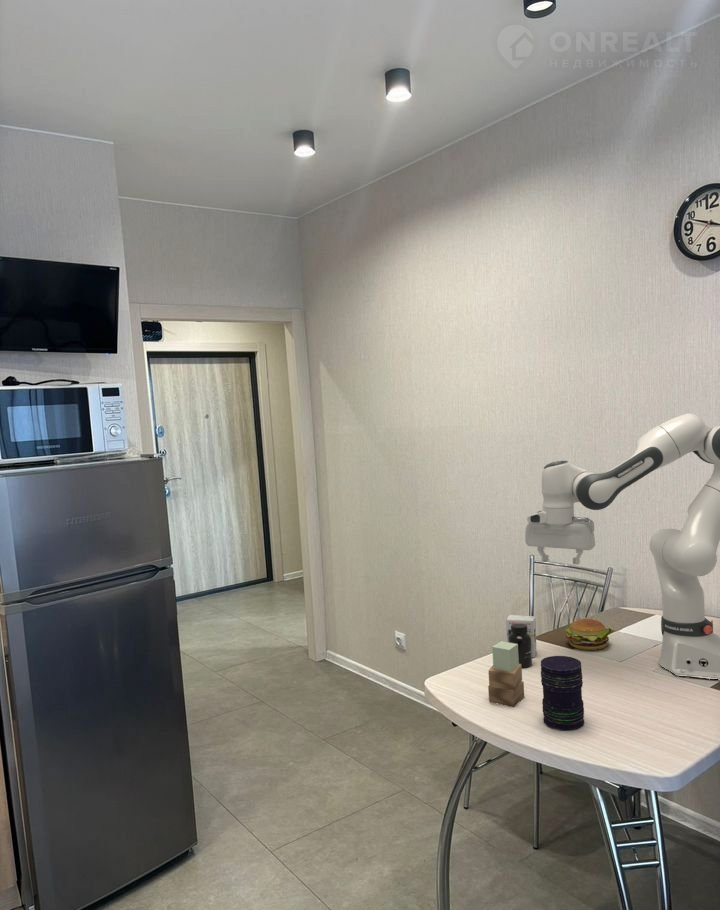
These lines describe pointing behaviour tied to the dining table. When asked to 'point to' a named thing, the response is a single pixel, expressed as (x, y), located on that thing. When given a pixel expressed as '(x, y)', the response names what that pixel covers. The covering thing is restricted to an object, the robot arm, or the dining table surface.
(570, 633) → the food
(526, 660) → the supplement bottle
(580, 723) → the dark blue ribbed cylinder
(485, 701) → the dining table surface
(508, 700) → the tower base
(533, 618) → the ink box
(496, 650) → the sage block
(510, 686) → the tower top
